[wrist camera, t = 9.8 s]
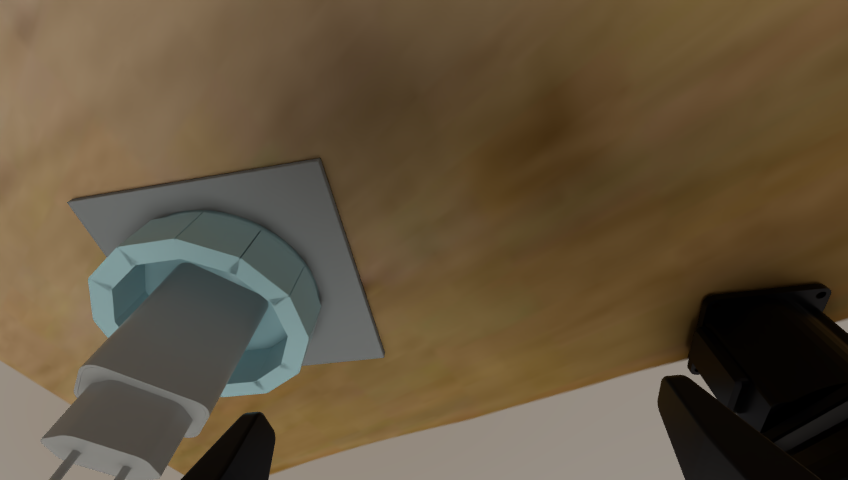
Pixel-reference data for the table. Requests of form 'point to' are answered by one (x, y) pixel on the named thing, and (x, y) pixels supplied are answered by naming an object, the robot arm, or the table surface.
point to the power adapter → (157, 376)
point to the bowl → (231, 259)
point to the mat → (276, 211)
